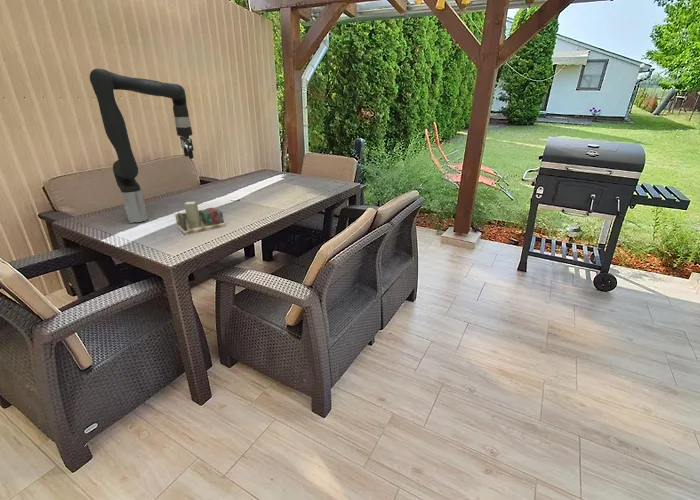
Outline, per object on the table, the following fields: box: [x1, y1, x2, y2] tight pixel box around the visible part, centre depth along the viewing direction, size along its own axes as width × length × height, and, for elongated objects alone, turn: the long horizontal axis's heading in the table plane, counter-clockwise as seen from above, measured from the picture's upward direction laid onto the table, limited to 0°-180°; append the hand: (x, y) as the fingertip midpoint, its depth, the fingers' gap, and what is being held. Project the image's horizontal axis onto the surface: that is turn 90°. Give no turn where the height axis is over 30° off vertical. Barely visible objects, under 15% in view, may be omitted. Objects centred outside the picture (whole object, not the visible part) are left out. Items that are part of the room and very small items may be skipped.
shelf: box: [174, 206, 227, 235], centre depth 184 cm, size 21×13×8 cm, turn 128°
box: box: [183, 201, 201, 227], centre depth 180 cm, size 5×4×13 cm
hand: (189, 157), depth 190 cm, fingers open, 8 cm apart
